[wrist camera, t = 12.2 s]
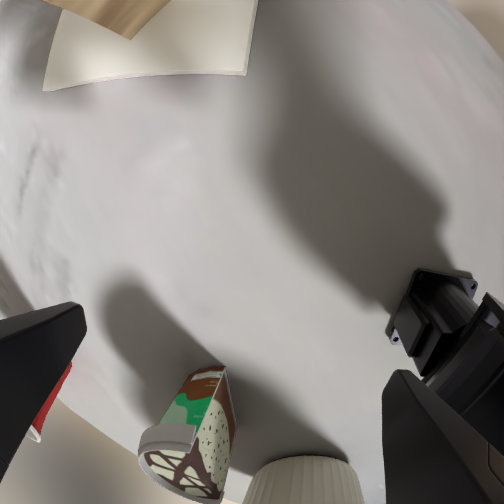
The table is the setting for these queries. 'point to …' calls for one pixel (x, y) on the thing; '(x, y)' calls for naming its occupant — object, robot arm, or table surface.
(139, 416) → the table surface
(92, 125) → the table surface
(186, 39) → the cutting board
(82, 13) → the wooden block
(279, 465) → the canister
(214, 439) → the food container
